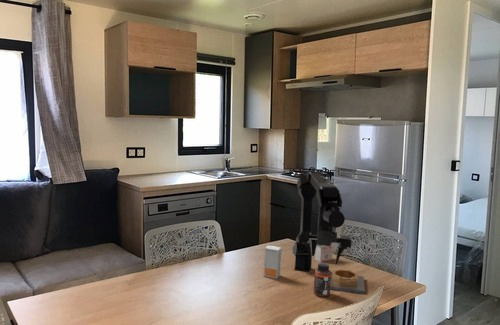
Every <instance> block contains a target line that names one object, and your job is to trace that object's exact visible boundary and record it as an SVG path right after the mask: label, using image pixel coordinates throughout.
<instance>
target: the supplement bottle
mask: <svg viewBox="0 0 500 325" xmlns="http://www.w3.org/2000/svg"><path fill="white" fill-rule="evenodd" d="M313 282H314V283H313V293H314V295H315V296H317V297H322V298H326V297H329V296H330V294H331V289H330V284H331V270H330V265H329V263H326V262H319V263H318V264H317V268H316V269H315V271H314V281H313Z"/></svg>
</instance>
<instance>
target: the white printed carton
mask: <svg viewBox="0 0 500 325" xmlns="http://www.w3.org/2000/svg"><path fill="white" fill-rule="evenodd" d="M332 258H333V245H332V243H331V245H330V246H325V245H318V244H317V243H316V250H315V255H314V259H315V260H316V261H318V262H319V263H324V262H327V261H332V260H333V259H332Z"/></svg>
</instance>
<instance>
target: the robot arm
mask: <svg viewBox="0 0 500 325" xmlns="http://www.w3.org/2000/svg"><path fill="white" fill-rule="evenodd" d="M296 187H297V192H298V195H299V196H300V198H301V208H300V209H301V210H300V226H299V227H300V229H299V233H298V234H297V236H296V238H295V242H294V245H293V246H292V254H293V255H294V257H295V260H294V268H293V269H294V271H302V272H310V270H311V269H312V264H313V262H312V261H313V257H315V255H316V246H317V244H318V245H325V246H330V245H331V243H336V244H338V248H337V253H336V258H335V264H338V262H339V260H340V258H341V256H342V253H343V252H344V250H347V249H348V248H352V237H351V236H350V235H343V234H341V235H340V237H338V232H337V231H335V230H334V229H335V228H337V229H338V228H340V227H343V225H344V223H345V221H346V220H345V215H344V213H343V212H341V211H340V209H341V208H342V207H343V199H342V196H341V193H340V190H339V188H338V187H337V186H336V185H334V184H330V183H329V182H327V181H326V180H325V179H324V177H323V176H322V175H321V173H320V172H319V171H314V170H313V171H307V172H306V173H305V174H303V175H302V176H299V178H298V180H297V183H296ZM315 196H316V201H317V203H318V215H317V216H318V219H317V231H316V234H312V222H313V221H312V220H313V199H314V198H315Z"/></svg>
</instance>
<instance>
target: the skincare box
mask: <svg viewBox="0 0 500 325" xmlns="http://www.w3.org/2000/svg"><path fill="white" fill-rule="evenodd" d="M263 260H264V261H263V275H262V276H263V277H268V278H272V279H276V280H277V279H278V278H279V277H280V275H281V266H282V264H281V262H282V247H280V246H275V245H274V246H273V245H267V246H265V248H264V258H263Z"/></svg>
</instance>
